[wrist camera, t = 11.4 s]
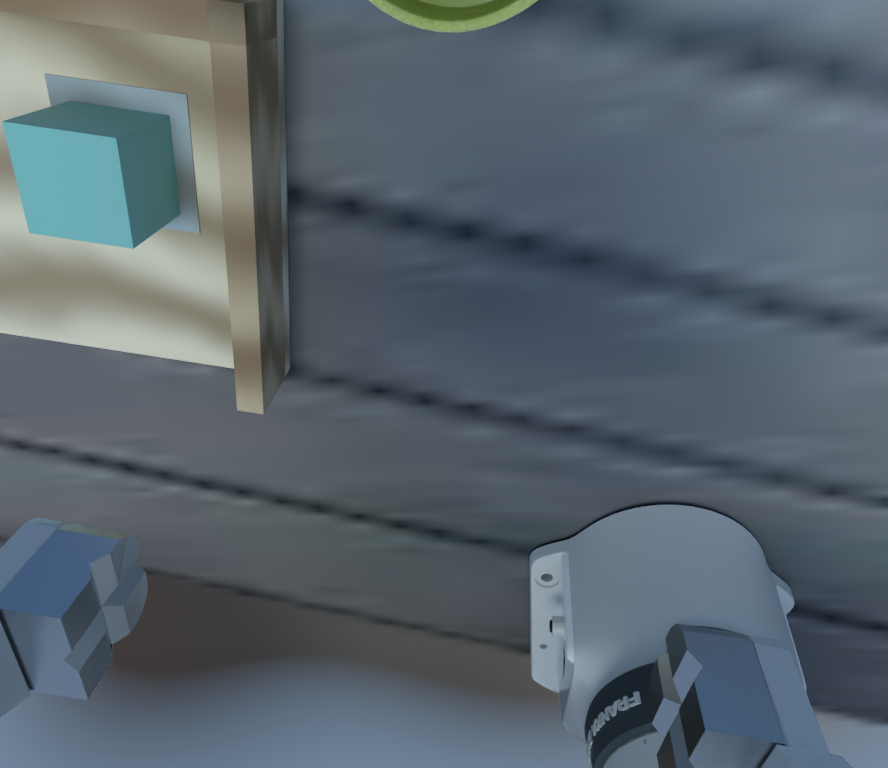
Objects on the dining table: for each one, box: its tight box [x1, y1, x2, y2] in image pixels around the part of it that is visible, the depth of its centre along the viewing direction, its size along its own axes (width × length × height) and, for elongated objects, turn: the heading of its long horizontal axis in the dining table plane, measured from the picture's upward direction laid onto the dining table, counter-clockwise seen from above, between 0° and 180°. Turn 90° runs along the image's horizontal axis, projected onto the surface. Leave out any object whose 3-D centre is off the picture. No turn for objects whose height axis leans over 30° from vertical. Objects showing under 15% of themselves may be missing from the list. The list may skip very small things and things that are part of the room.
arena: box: [0, 0, 290, 414], centre depth 33 cm, size 20×20×5 cm
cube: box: [2, 101, 180, 249], centre depth 31 cm, size 5×5×5 cm
